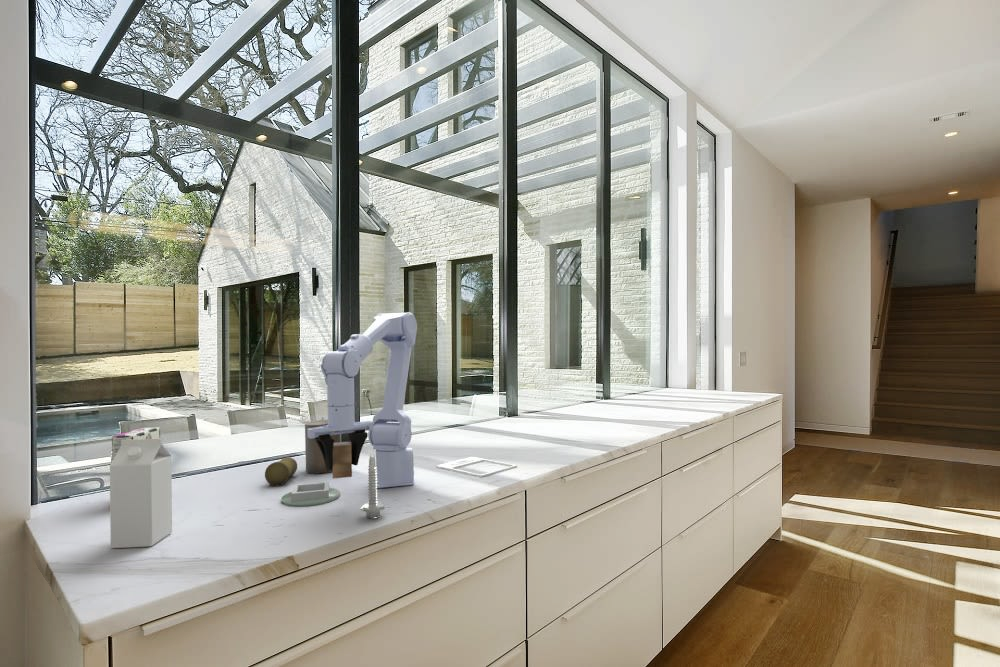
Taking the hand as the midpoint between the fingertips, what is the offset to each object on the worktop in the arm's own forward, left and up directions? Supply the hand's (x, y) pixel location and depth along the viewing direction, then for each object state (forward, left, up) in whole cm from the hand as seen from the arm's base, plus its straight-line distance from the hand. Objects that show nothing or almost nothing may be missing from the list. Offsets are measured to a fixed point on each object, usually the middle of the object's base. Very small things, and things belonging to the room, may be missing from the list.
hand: (342, 466), depth 118 cm
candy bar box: (+46, -22, -9) cm, 52 cm away
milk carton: (+36, +8, -9) cm, 38 cm away
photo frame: (-37, -25, -10) cm, 46 cm away
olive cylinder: (+16, -24, -6) cm, 29 cm away
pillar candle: (+5, -38, -9) cm, 39 cm away
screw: (-6, +9, -9) cm, 14 cm away
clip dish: (+7, -10, -9) cm, 15 cm away
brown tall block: (0, 0, -2) cm, 2 cm away
